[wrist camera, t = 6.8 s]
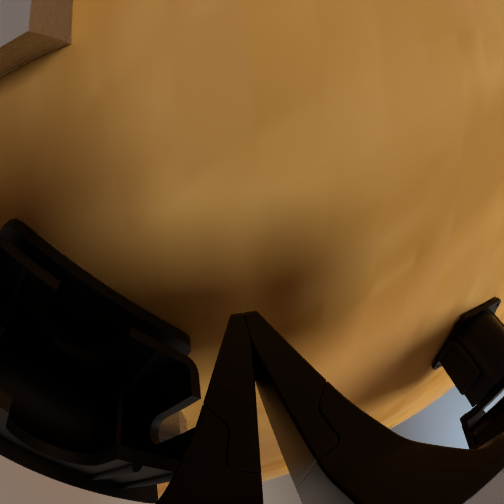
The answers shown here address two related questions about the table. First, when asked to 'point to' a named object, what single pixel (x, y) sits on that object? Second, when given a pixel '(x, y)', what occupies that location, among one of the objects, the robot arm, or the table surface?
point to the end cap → (86, 375)
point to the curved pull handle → (38, 44)
